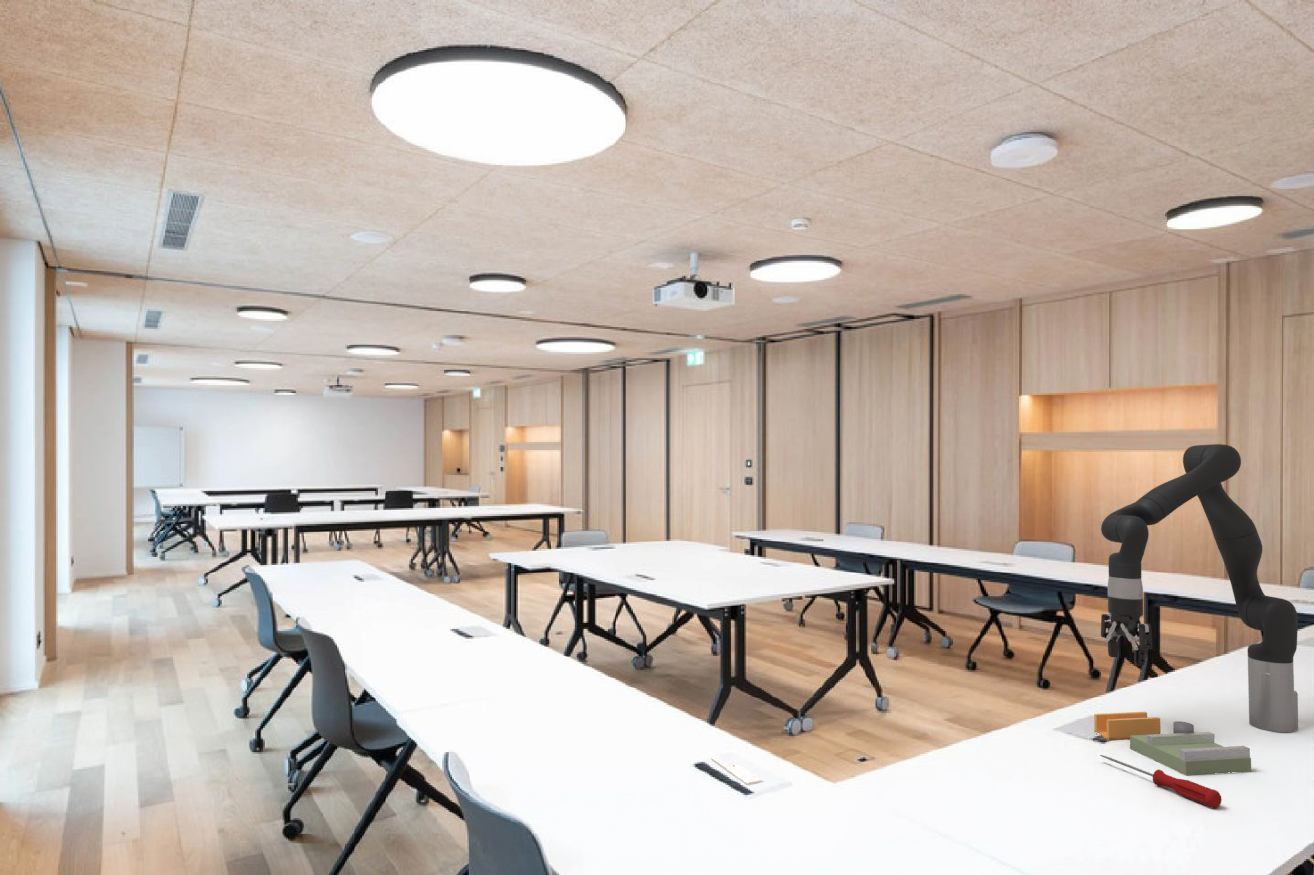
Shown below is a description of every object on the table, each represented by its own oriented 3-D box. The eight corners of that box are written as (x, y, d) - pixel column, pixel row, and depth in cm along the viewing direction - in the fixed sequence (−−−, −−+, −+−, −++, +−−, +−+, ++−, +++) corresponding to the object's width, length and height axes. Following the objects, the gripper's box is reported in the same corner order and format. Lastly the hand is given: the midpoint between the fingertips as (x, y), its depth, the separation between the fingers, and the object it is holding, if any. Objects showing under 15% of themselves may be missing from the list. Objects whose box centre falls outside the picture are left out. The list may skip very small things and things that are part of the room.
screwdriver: (1106, 762, 173) (1106, 746, 173) (1223, 808, 149) (1223, 789, 149) (1095, 764, 171) (1094, 748, 171) (1211, 811, 148) (1211, 792, 148)
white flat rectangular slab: (730, 758, 174) (730, 753, 174) (767, 783, 160) (767, 778, 160) (711, 761, 172) (711, 756, 172) (746, 787, 158) (746, 781, 158)
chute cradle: (1208, 740, 178) (1208, 731, 178) (1249, 757, 167) (1249, 748, 167) (1147, 743, 175) (1146, 734, 176) (1184, 761, 165) (1184, 751, 165)
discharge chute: (1144, 731, 193) (1144, 711, 193) (1160, 738, 188) (1160, 718, 188) (1094, 734, 191) (1094, 713, 191) (1109, 741, 186) (1108, 720, 186)
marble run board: (1190, 745, 183) (1189, 719, 183) (1251, 771, 167) (1250, 744, 167) (1129, 748, 181) (1129, 722, 181) (1186, 775, 165) (1185, 747, 165)
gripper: (1161, 600, 184) (1162, 668, 184) (1117, 590, 198) (1118, 653, 198) (1133, 600, 183) (1134, 669, 182) (1091, 590, 197) (1092, 654, 197)
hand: (1126, 661), depth 190 cm, fingers open, 8 cm apart
